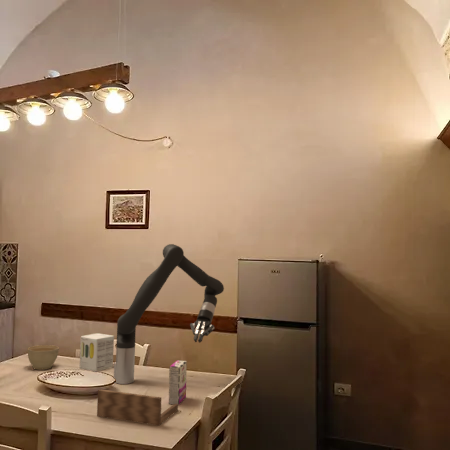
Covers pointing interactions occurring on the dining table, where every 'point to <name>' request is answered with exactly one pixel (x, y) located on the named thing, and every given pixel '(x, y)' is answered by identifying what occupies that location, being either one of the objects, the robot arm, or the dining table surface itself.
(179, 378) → the candy bar box
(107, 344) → the supplement box
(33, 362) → the planter bowl
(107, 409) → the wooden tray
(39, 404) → the dining table surface
